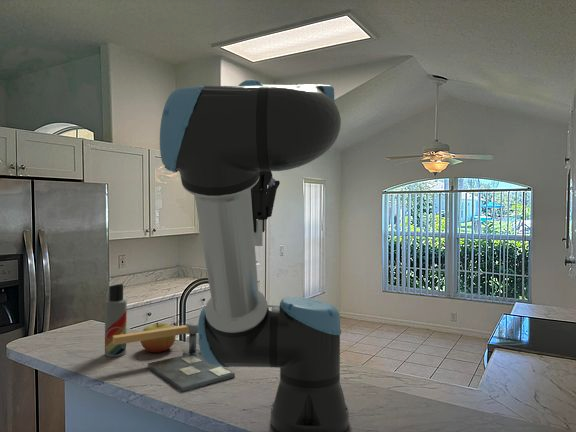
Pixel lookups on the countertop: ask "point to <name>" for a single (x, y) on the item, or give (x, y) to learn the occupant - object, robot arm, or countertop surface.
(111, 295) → the lotion bottle
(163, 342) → the apple
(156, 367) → the plate
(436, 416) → the countertop surface
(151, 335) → the cable arm
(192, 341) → the post
